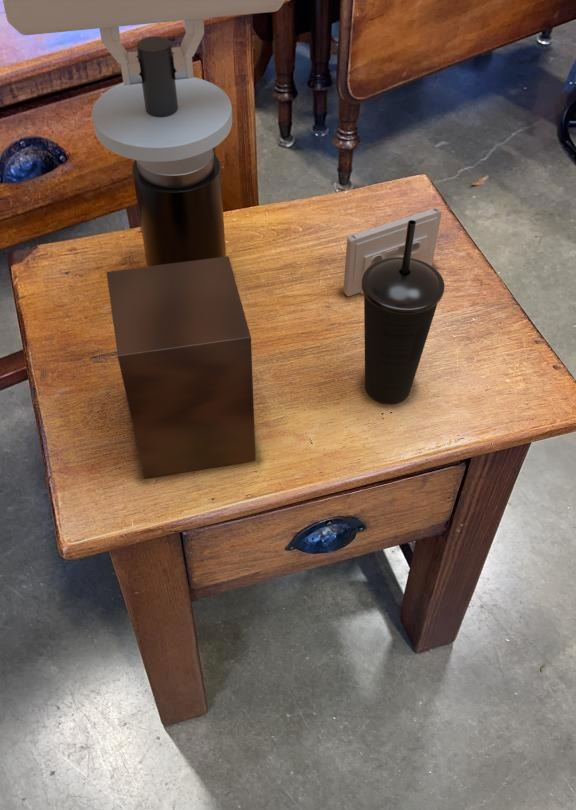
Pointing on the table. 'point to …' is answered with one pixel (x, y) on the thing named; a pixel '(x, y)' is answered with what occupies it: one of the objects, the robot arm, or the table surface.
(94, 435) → the table surface
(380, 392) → the drinking cup
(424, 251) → the cassette
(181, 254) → the thermos
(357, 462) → the table surface
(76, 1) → the robot arm
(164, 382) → the riser
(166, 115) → the lid
